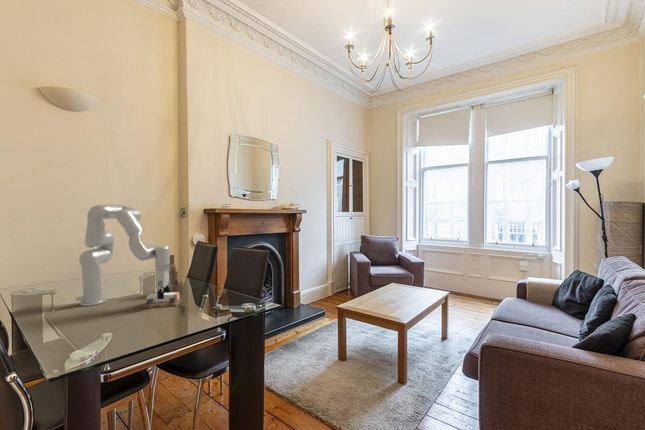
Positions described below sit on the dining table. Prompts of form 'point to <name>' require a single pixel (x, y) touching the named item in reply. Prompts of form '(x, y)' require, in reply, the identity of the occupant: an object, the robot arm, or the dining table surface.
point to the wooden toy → (174, 278)
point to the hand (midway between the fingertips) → (163, 296)
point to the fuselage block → (166, 297)
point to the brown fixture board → (162, 303)
